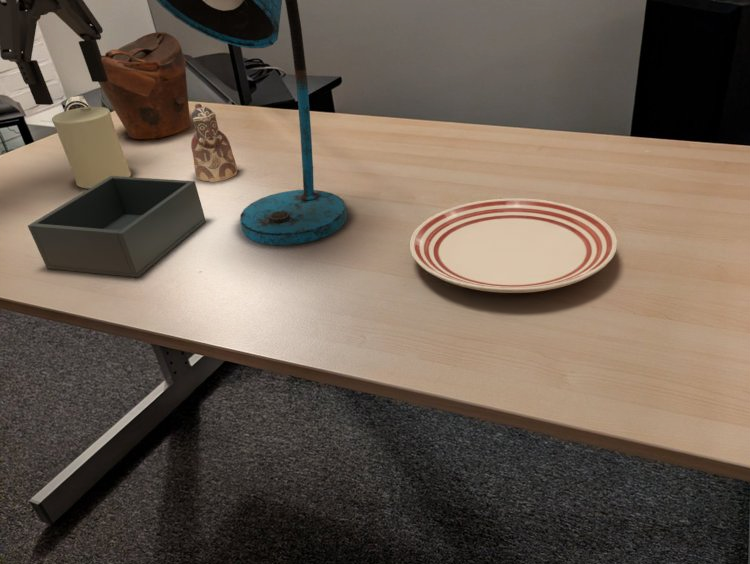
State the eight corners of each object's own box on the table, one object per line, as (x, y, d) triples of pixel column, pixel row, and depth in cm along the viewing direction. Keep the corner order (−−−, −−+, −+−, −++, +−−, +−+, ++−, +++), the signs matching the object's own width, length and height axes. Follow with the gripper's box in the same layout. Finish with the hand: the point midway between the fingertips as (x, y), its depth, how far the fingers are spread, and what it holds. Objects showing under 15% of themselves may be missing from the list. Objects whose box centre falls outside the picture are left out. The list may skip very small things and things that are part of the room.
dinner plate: (385, 236, 95) (383, 215, 93) (550, 201, 103) (552, 181, 101) (456, 335, 74) (456, 310, 72) (657, 282, 82) (661, 259, 80)
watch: (79, 163, 125) (56, 105, 118) (82, 150, 131) (61, 94, 124) (110, 159, 126) (90, 101, 120) (112, 146, 132) (93, 90, 126)
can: (136, 167, 122) (114, 101, 115) (124, 185, 115) (101, 117, 108) (84, 171, 121) (59, 106, 114) (69, 191, 114) (42, 122, 107)
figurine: (198, 184, 114) (179, 115, 107) (195, 170, 119) (177, 104, 112) (239, 177, 116) (223, 109, 109) (235, 164, 121) (219, 98, 114)
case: (103, 150, 130) (70, 55, 120) (123, 120, 146) (95, 34, 136) (196, 141, 133) (171, 47, 122) (205, 113, 149) (184, 27, 138)
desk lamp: (196, 250, 94) (82, -136, 67) (285, 192, 110) (220, -138, 83) (290, 269, 88) (205, -144, 62) (368, 204, 104) (327, -144, 78)
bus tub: (46, 268, 91) (27, 225, 87) (124, 214, 105) (110, 175, 101) (138, 277, 88) (122, 233, 84) (206, 221, 102) (194, 180, 98)
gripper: (-28, -47, 86) (39, 115, 98) (95, -65, 106) (138, 73, 118) (-74, -46, 88) (-2, 114, 100) (56, -63, 107) (102, 72, 119)
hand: (74, 92), depth 109 cm, fingers open, 13 cm apart
